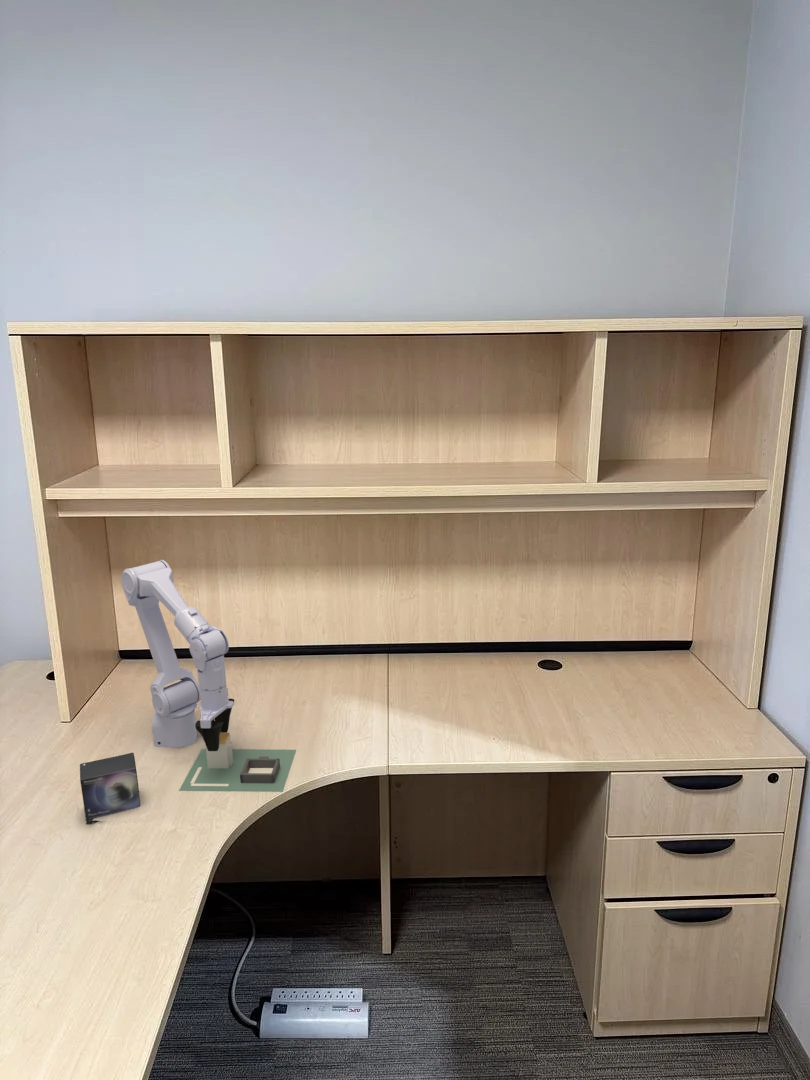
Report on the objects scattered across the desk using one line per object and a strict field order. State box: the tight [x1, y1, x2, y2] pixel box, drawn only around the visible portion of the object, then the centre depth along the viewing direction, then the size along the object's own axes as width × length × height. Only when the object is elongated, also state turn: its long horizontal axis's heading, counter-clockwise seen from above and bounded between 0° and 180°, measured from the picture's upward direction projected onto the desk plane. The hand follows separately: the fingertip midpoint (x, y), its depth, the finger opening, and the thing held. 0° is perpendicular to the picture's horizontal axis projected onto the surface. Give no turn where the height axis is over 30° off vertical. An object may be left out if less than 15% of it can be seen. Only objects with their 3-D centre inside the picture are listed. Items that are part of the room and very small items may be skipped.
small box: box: [79, 752, 141, 825], centre depth 150 cm, size 11×6×10 cm, turn 114°
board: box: [178, 748, 297, 793], centre depth 162 cm, size 22×16×3 cm
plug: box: [205, 732, 233, 768], centre depth 164 cm, size 5×4×7 cm
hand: (218, 740), depth 163 cm, fingers open, 7 cm apart
